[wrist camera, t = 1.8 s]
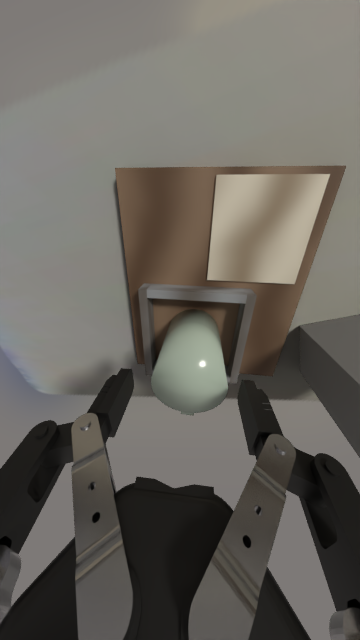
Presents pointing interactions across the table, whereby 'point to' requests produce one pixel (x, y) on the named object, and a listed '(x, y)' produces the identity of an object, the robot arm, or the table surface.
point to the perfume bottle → (335, 370)
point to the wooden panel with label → (222, 252)
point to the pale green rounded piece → (191, 364)
